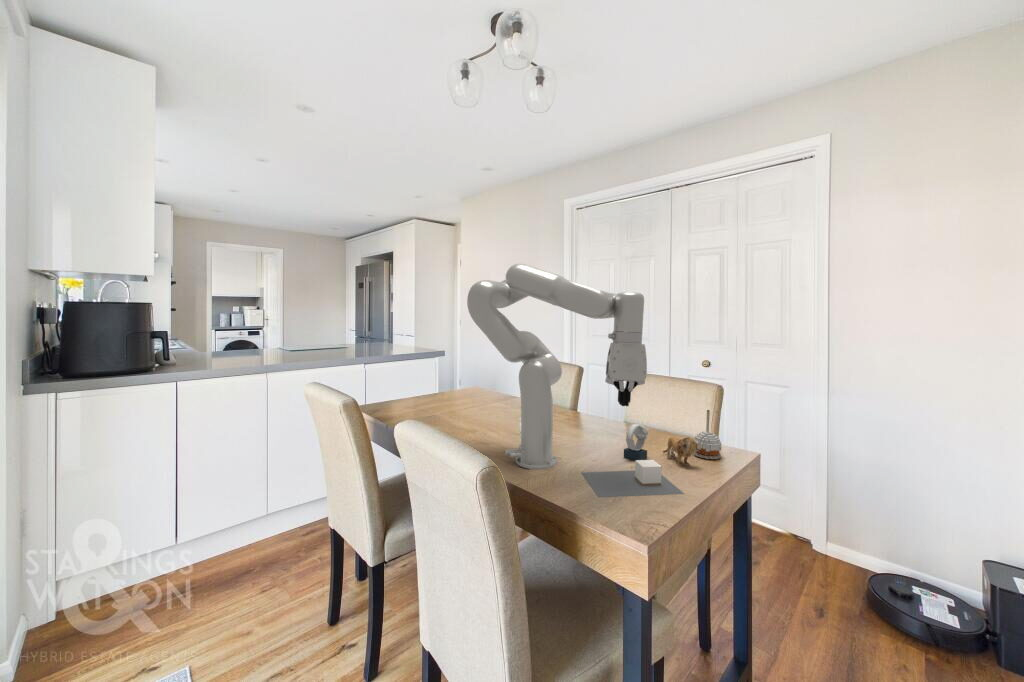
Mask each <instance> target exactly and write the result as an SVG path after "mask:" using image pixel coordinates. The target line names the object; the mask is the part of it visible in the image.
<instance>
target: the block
mask: <svg viewBox="0 0 1024 682" xmlns="http://www.w3.org/2000/svg"><path fill="white" fill-rule="evenodd" d="M634 462H635V463H634V464H635V465H634V471H635V479H636V480H637V481H638V482H639V483H640V484H641V485H642V486H655V485H661V475H662V470H663V469H662V465H660V463H658V462H657V461H655V460H654V459H646V460H635V461H634Z"/></svg>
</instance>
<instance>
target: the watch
mask: <svg viewBox="0 0 1024 682" xmlns="http://www.w3.org/2000/svg"><path fill="white" fill-rule="evenodd" d="M648 435H649V432H648V429H647V428H646V427H645V426H644V425H643V424H640V423H632V424H630V425H629V426H628V428H627V432H626V439H625V441H626V444H627V447H626V448H624V449H623V459H627V460H629V461H634V462H635V460H648V450H646V449H643V447H644V445H645V441H646V440H647V438H648ZM634 436H635V439H637V440H636V442H635V439H634ZM635 443H636V444H635Z"/></svg>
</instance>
